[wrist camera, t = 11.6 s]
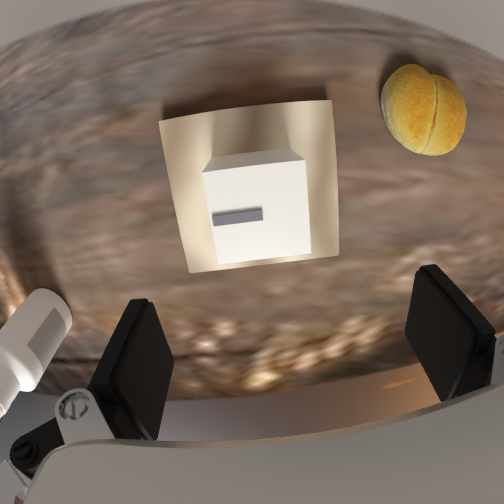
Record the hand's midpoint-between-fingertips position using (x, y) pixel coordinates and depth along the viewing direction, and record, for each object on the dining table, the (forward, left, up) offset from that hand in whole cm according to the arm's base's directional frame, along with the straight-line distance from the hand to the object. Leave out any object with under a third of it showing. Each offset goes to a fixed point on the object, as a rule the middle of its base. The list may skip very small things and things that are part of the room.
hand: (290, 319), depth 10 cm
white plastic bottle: (+28, +11, -19) cm, 35 cm away
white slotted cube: (+1, 0, -17) cm, 17 cm away
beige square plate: (+1, 0, -18) cm, 18 cm away
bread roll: (-16, -6, -19) cm, 25 cm away
